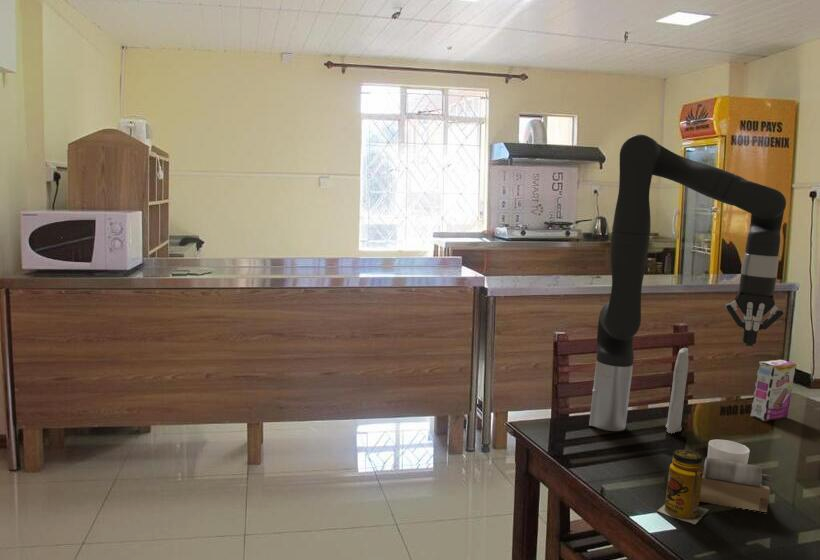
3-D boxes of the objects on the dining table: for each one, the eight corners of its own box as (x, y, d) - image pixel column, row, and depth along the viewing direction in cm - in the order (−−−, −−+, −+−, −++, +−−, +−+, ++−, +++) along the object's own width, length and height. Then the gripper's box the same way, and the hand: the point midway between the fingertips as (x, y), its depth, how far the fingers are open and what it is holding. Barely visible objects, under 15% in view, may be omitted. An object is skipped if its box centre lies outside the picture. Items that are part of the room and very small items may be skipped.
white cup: (741, 488, 148) (747, 443, 146) (745, 503, 140) (752, 456, 139) (701, 480, 150) (707, 436, 149) (703, 494, 143) (710, 449, 141)
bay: (683, 468, 156) (688, 430, 155) (752, 480, 152) (758, 441, 151) (691, 502, 139) (697, 459, 138) (770, 516, 135) (776, 473, 134)
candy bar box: (765, 422, 194) (774, 366, 192) (749, 416, 198) (757, 361, 196) (788, 417, 200) (797, 363, 197) (772, 412, 204) (780, 358, 202)
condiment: (656, 511, 134) (663, 453, 132) (671, 498, 140) (679, 442, 138) (694, 525, 129) (703, 465, 127) (708, 511, 135) (717, 453, 134)
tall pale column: (669, 421, 188) (679, 343, 185) (685, 425, 186) (695, 346, 183) (661, 432, 179) (671, 350, 176) (677, 436, 177) (688, 353, 174)
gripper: (730, 272, 161) (720, 344, 163) (793, 278, 157) (782, 352, 159) (726, 269, 168) (716, 338, 170) (786, 275, 164) (775, 345, 166)
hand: (748, 345), depth 165 cm, fingers closed
